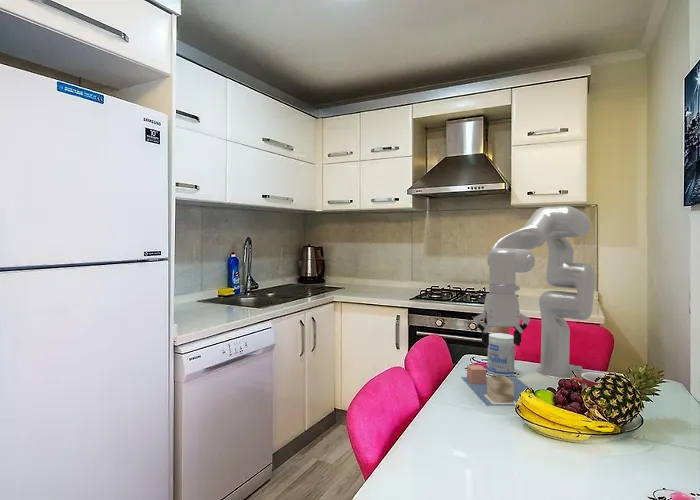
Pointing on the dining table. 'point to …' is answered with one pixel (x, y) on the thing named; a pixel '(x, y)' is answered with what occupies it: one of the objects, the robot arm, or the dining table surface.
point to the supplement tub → (501, 354)
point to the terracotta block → (476, 374)
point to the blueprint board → (482, 394)
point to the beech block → (500, 389)
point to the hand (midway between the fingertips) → (501, 345)
